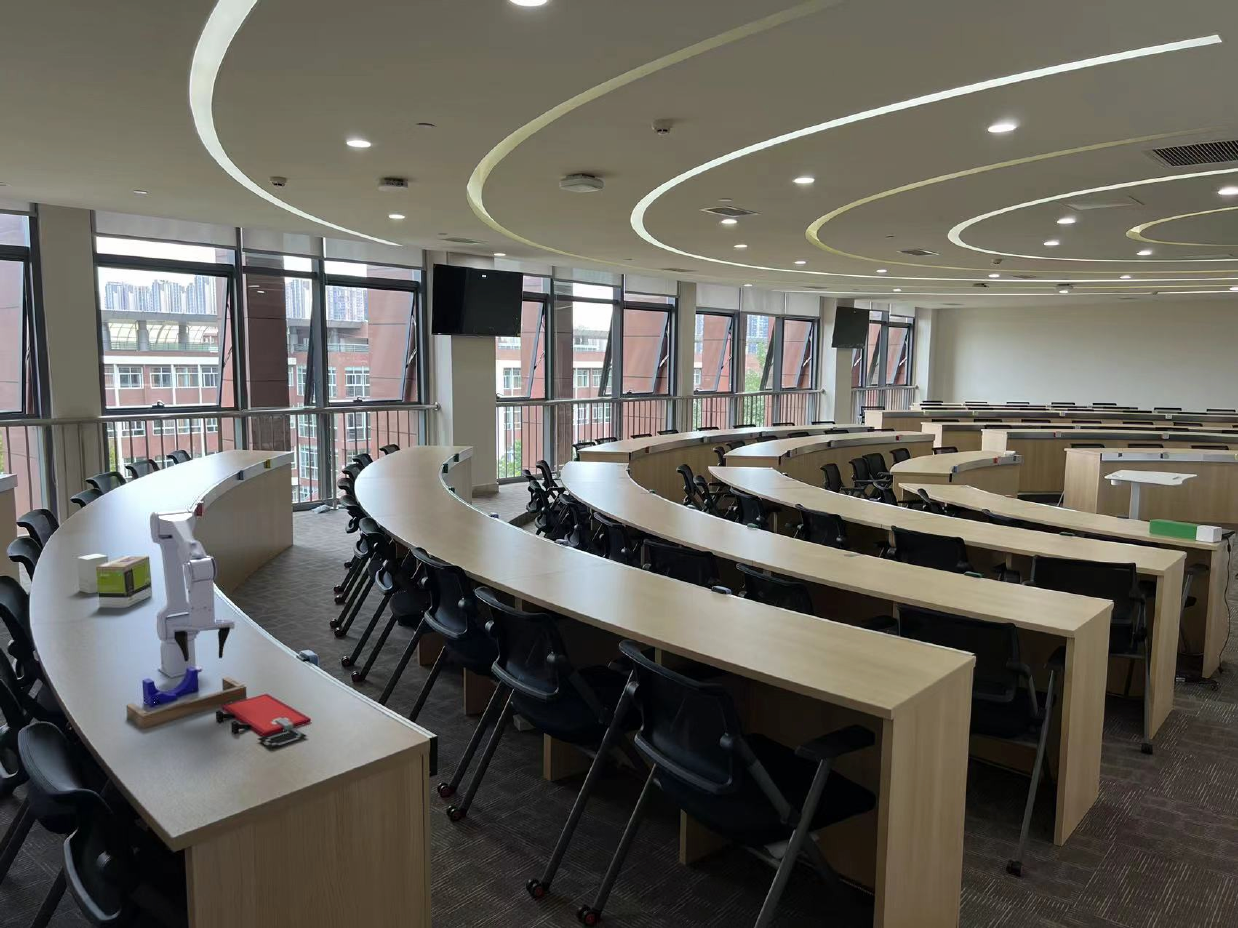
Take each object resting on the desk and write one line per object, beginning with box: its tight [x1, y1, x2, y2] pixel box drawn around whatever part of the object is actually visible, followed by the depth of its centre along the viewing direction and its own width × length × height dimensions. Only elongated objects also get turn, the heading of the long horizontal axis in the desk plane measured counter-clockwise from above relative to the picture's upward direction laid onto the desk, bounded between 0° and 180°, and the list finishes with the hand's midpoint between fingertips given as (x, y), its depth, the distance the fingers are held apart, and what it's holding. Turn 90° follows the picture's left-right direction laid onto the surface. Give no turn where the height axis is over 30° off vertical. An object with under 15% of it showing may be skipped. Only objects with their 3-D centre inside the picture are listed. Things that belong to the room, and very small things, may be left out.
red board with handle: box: [215, 693, 311, 748], centre depth 195 cm, size 30×3×15 cm
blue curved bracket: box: [142, 667, 200, 708], centre depth 208 cm, size 12×4×6 cm, turn 141°
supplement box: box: [76, 553, 109, 594], centre depth 303 cm, size 7×7×13 cm
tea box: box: [96, 555, 153, 609], centre depth 289 cm, size 15×10×15 cm, turn 178°
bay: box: [126, 676, 248, 730], centre depth 203 cm, size 10×24×3 cm, turn 140°
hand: (203, 658), depth 209 cm, fingers open, 7 cm apart
